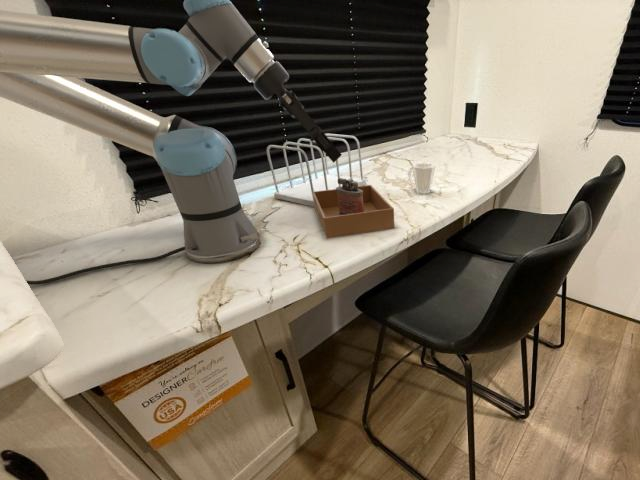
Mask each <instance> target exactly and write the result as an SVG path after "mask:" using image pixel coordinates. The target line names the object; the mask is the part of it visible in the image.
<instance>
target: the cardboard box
mask: <svg viewBox="0 0 640 480" xmlns="http://www.w3.org/2000/svg"><path fill="white" fill-rule="evenodd" d="M358 189H360V190H363V194H362V195H363V208H364V212H361V213H354V214H346V215H339V212H340V211H339V203H338V195H337V191H336V189H332V190H324V191H315V192H312V193H313V199H314V205H315V207H314V209H315V212H316V215H317V218H318V220H319V222H320V226H321V227H322V229H323V233H324V234H325V238H326V239H332V238H339V237H345V236H351V235H357V234H363V233H370V232H376V231H384V230H389V229H395V209H394V207H393V206H392V205H391V204H390V203H389V202H388V201H387V200H386V199H385V198H384V197H383V196H382V195H381V194H380V192H379V191H377V189H375V188H374V187H373V185H372V184H369V185H368V184H366V185H363V186H358Z"/></svg>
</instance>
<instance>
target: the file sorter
mask: <svg viewBox="0 0 640 480" xmlns="http://www.w3.org/2000/svg"><path fill="white" fill-rule="evenodd" d="M324 134H325V135H326V136H327V138H328V139H329V140H330V141H339V142H343V143H345V145H346V148H347V156H348V170H349V171H348V172H349V176H346V175H341V174H340V167H339V158H338V159H337V160H336V161H335V166H336V173H335V174H334V173H329V167H328V161H327V155H326V153H325V152H324V151H323V150H322V149H321V148H320V147H319V146H318V145H313V143H316V142H315V141H314V140H313V141H311V140H310V139H309V138H305V137H303V138H302V137H301V138H299V139H298V140H297V142H293V141H285V142H284V143H283V145H277V144H269V145H268V146H267V147H266V156H267V160H268V163H269V168H270V171H271V176H272V179H273V183H274V187H275V190H276V191H275V192H273V195H274V196H273V197H274V198H275V199H277V200H282V201H287V202H291V203H295V204H296V203H297V204H300V205H306V206H309V207H314V208H315V205H314V199H313V193H312V192H315V191H324V190H332V189H336V187H340V186H342V184H338V178H343V179H346V180H348V179H353V181H356V182H358V186H367V180H366V178H364V174H363V165H362V164H363V163H362V153H361V146H360V145H361V144H360V141H359V139H358V138H357V137H356V136H355V135H347V134H336V133H324ZM344 138H348V139H353V140H354V141H355V142H356V145H357V152H358V160H359V161H358V162H359V171H360V178H359V177H353V172H352V158H351V148H350V144H349V143H348V141H347V140H346V139H344ZM302 141H304V142H309V144H307V143H301V142H302ZM287 145H292V146H296V147H292V146H287ZM300 147H306V148H310V152H311V159H312V164H313V165H312V166H313V170H314V176H315V177H314V178H312V173H311V169H310V162H309V158H308V155H307V153H306V151H304V150H303V149H302V148H300ZM271 148H273V149H274V148H275V149H282V151H283V157H284V161H285V165H286V170H287V175H288V181H289V185H290V186H289V187H287V188H283V189H280V190H279V185H278V183H277V178H276V175H275V171H274V167H273V163H272V158H271V153H270V150H271ZM314 149H315V150H317V151H318V152H319V155H320V159H321V164H322V172H323V174H322V175H320V176H318V172H317V166H316V160H315V154H314ZM287 150H291V151H296V152H297V154H298V159H299V165H300V170H301V177H302V180H303V182H300V183H298V184H295V185H293V182H292V177H291V176H292V175H291V170H290V166H289V161H288V157H287ZM302 155H303V157H304V159H305V164H306V170H307V175H308V180H306V176H305V171H304V166H303V165H304V164H303V160H302Z"/></svg>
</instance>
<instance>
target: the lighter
mask: <svg viewBox="0 0 640 480" xmlns="http://www.w3.org/2000/svg"><path fill="white" fill-rule="evenodd" d="M338 184H342V186H340V187H336V191H337V195H338V203H339V211H340V212H339V215H346V214H354V213H361V212H364V208H363V195H362V194H363V190H360V189H358V182H356V181H353V179H348V180H346V179H343V178H338Z"/></svg>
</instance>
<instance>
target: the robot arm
mask: <svg viewBox="0 0 640 480" xmlns="http://www.w3.org/2000/svg"><path fill="white" fill-rule="evenodd" d="M182 5H183V8H184V10H185V11H186V13H187V15H188V16H189V18H188V20H187V21H186V22H185V24H184V25H183V27H181V28H180V30H179V31H178V32H177V31H176V30H174V29H170V28H163V27H157V28H156V27H155V28H147V27H140V26H139V27H138V26H137V27H136V26H130V25H124V24H116V23H107V22H100V21H92V20H84V19H83V20H82V19H74V18H66V17H59V16H51V15H42V14H34V13H26V12H20V11H19V12H18V11H11V10H9V11H8V10H2V9H0V98H2V99H4V100H6V101H9V102H13V103H15V104H18V105H20V106H23V107H25V108H28V109H30V110H33V111H35V112H38V113H41V114H43V115H46V116H48V117H51V118H54V119H56V120H59V121H61V122H63V123H66V124H68V125H71V126H74V127H76V128H79V129H81V130H84V131H86V132H89V133H91V134H94V135H96V136H99V137H101V138H104V139H107V140H110V141H111V142H114V143H117V144H119V145H122V146H124V147H127V148H130V149H132V150H135V151H137V152H140V153H142V154H145V155H147V156H150V157H152V158H154V160H155V161H156V162H157V165H158V166H159V167H160V170H161V172H162V174H163V176H164V178H165V181H166V183H167V186H168V187H169V190H170V192H171V193H170V194H171V195H172V198H173V199H174V202H175V204H176V207H177V209H178V211H179V214H180V216H181V218H182V222H183V236H184V237H183V240H184V241H183V243H184V246H182V247H179V248H177V249H173V250H171V251H168V252H167V253H164V254H161V255H158V256H153V257H148V258H147V257H146V258H139V259H130V260H123V261H117V262H111V263H107V264H100V265H96V266H91V267H87V268H83V269H78V270H74V271H71V272H68V273H65V274H62V275H56V276H55V277H50V278H47V279H46V278H45V279H40V280H26V281H27V283H28V284H29V285H28V286H34V285H36V286H37V285H38V286H39V285H45V284H50V283H53V282H57V281H60V280H65V279H68V278H71V277H74V276H77V275H82V274H84V273H90V272H94V271H98V270H104V269H108V268H113V267H119V266H124V265H132V264H140V263H149V262H154V261H159V260H163V259H165V258H168V257H171V256H172V255H176V254H179V253H181V252H184V251H185V252H186V255H187V257H188V258H189V259H190V260H191V261H192V262H197V263H201V264H217V263H224V262H229V261H233V260H236V259H237V260H238V259H240V258H242V257H245V256H247V255H249V254H251V253H252V252H254V251H256V250H257V249H258V248H259V247H260V245H261V241H262V240H261V237H260V233H259V232H258V230H257V229H256V227H255V226H254V224H253V222H252V221H251V219H250V218H249V217H248V215H247V214H246V212H245V211H244V209H243V206H242V203H241V200H240V197H239V193H238V190H237V186H236V183H235V180H234V174H235V172H236V168H237V166H238V159H237V154H236V151H235V148H234V146H233V144H232V143H231V141H230V140H229V139H228V137H226V135H224V134H223V133H222V132H220V131H218V130H217V129H215V128H213V127H209V126H203V125H198V124H195V123H193V122H192V121H190V120H187V119H185V118H182V117H181V116H178V115H176V114H172V115H169V116H166V117H164V116H161V115H158V114H156V113H155V112H153V111H150V110H147V109H145V108H143V107H141V106H139V105H136V104H134V103H132V102H130V101H128V100H125V99H123V98H121V97H119V96H116V95H114V94H112V93H110V92H108V91H105V90H104V89H101V88H99V87H97V86H94V85H93V84H91V83H88V82H86V81H83V80H82V79H90V80H91V79H92V80H105V81H117V82H129V83H145V84H151V85H152V84H154V85H164V86H167V85H168V86H170V87H172V88H173V89H174V90H176V91H177V92H178V93H179V94H182V95H184V96H186V97H189V96H192V95H193V94H194V93H195V92H196V91H197V90H198V89H200V88H201V87H202V85H203V84H204V83H205V81H206V80H208V78H209V77H210V76H211V75H212V74H213V72H215V70H216V69H217V68H218V66H220V65H221V64H222V62H224V60H226V58H227V59H229V61H230V62H231V63H232V64H233V66H234V67H235V68H236V69H237V70H238V71H239V73H241V75H242V76H243V77H244V78H245V79H246V80H247V81H248V82H249V83H253V86H254V89H255V90H256V91H257V92H258V93H259V95H260V96H261V97H262V98H263V99H264V100H266V101H267V100H268V101H269V100H270V99H272V97H273V96H274V95H276V96H277V99H279V102H278V104H279V106H281V107H282V109H283V110H284V111H286V112H287V113H288V114H289V115H290V117H292V118H293V119H296V120H297V121H298V122H299V124H300V125H301V126H302V127H303V128H304V129H305V131H306V132H307V133H308V134H309V136H310V137H309V138H308V139H310V140H311V141H313V140H314V141H315V142H314V143H316V145H317V146H318V147H319V148H320V150H321V151H322V152H323V151H324V152H325V153H326V157H328V158H329V159H330V160H331V162H332V163H333V164H334V163H336V160H337V159H338V160H339V158H340V157H341V156H342V153H341V151H339V150H338V148H337V147H336V145H334V144H333V142H332V140H331V139H328V138H327V137H328V136H326V135H325V134H326V133H324V131H323V130H322V129H321V127H320V126H318V125H317V124H316V120H315V119H314V118H313V117H311V116H310V115H309V114H308V112H306V110H305V107H304V105H303V104H302V103H301V102H300V100H299V99H298V96H297V95H296V93H294V92H293V90H290V91H289V90H288V89H286V88H285V86H284V85H285V84H286V83H287V82H288V80H289V79H290V75H289V73H288V72H287V70H286V69H285V68H284V66H283V65H282V64H281V63H280V62H279V61H278V60H276V61H274V60H275V59H274V58H275V57H274V54H273V53H272V52H271V51H270V49H268V47H269V43H268V42H267V41H263V42H262V40H261V39H260V37H259V36H258V34H257V33H256V32H255V31H254V30H253V28H252V27H251V25H250V24H249V23H248V22H247V20H246V19H245V18H244V17H243V15H242V14H241V13H240V11H239V10H238V9H237V8H236V6H235V5H234V4H233V3H232V1H231V0H184V1H183V3H182Z"/></svg>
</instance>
